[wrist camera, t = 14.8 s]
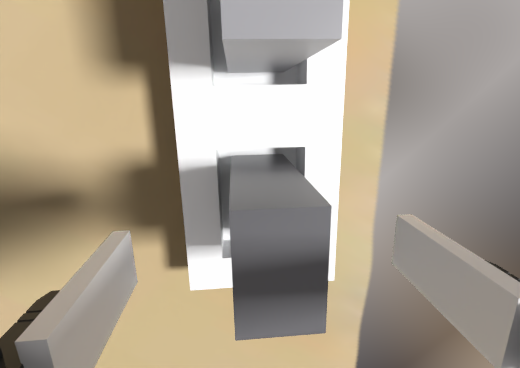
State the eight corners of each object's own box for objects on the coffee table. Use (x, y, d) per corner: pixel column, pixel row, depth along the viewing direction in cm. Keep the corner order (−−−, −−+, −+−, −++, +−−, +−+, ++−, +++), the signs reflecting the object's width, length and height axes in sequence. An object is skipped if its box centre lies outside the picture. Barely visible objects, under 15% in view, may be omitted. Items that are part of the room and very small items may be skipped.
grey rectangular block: (234, 227, 24) (235, 340, 13) (231, 155, 23) (228, 210, 11) (282, 225, 25) (325, 333, 13) (282, 153, 23) (331, 205, 12)
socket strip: (195, 265, 26) (163, 410, 14) (165, -85, 19) (48, -409, 7) (321, 257, 26) (394, 387, 14) (334, -81, 20) (492, -361, 8)
